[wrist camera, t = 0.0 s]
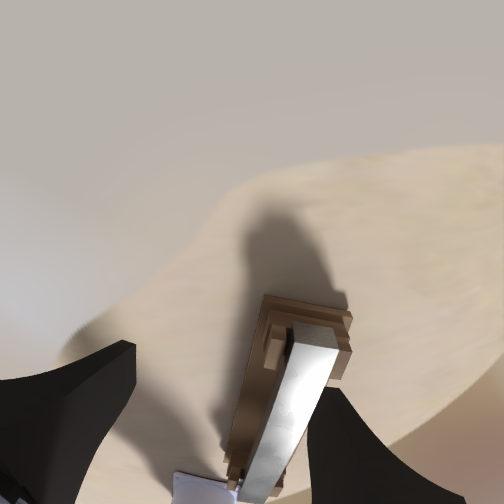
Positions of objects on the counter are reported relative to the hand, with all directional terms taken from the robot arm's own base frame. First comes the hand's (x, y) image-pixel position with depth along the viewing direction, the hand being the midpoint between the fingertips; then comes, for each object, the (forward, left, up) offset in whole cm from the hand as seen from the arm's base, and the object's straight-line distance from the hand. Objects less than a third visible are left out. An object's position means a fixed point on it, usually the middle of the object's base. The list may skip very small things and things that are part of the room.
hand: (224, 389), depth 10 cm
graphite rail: (-9, -4, -7) cm, 12 cm away
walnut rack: (-9, -4, -10) cm, 14 cm away
